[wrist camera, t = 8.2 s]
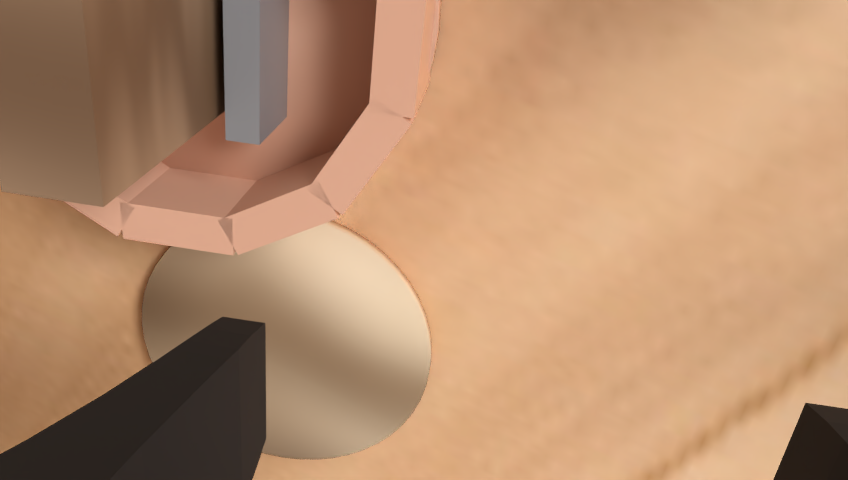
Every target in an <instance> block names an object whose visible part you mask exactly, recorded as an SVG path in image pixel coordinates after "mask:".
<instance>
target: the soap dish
mask: <svg viewBox="0 0 848 480" xmlns="http://www.w3.org/2000/svg"><path fill="white" fill-rule="evenodd" d="M440 11H441V0H223V39H224V88H225V111H224V112H223V113H222V114H221V115H219V116H218V117H217V118H216V119H214V120H213V121H212V122H211V123H209V124H208V125H207V126H205V127H204V128H203V129H202V130H200V131H199V132H198V133H197V134H195V135H194V136H193V137H192V138H190V139H189V140H188V141H186V142H185V143H184V144H183V145H181V146H180V147H179V148H178V149H176V150H175V151H174V152H173V153H171V154H170V155H169V156H168V157H166V158H165V159H164V160H162V161H161V162H160V163H159V164H157V165H156V166H155V167H154V168H152V169H151V170H150V171H149V172H147V173H146V174H145V175H144V176H142V177H141V178H140V179H138V180H137V181H136V182H135V183H133V184H132V185H131V186H130V187H128V188H127V189H126V190H125V191H123V192H122V193H121V194H119V195H118V196H117V197H116V198H114V199H113V200H112V201H111V202H109V203H108V204H107V205H106V206H104V207H99V206H93V205H86V204H79V203H73V202H66V201H64V202H65V203H67V204H68V205H70V206H71V207H73V208H74V209H76V210H77V211H79V212H81V213H82V214H84V215H85V216H87V217H88V218H90V219H91V220H93V221H94V222H96V223H98V224H99V225H101V226H102V227H104V228H105V229H107V230H108V231H110V232H111V233H113V234H114V235H116V236H119V235H120V234H121V233H123V239H128V240H135V241H141V242H148V243H154V244H161V245H167V246H174V247H181V248H187V249H194V250H200V251H207V252H213V253H220V254H226V255H234V253H235V252H237V254H238V255H240V254H242V253H245V252H248V251H251V250H253V249H256V248H259V247H261V246H264V245H267V244H270V243H272V242H275V241H278V240H281V239H283V238H286V237H289V236H291V235H294V234H297V233H300V232H302V231H305V230H308V229H310V228H313V227H316V226H319V225H321V224H324V223H327V222H329V221H332V220H335V219H338V218H339V216H340V214H342V215H343V214H344V213H345V211H346V210H347V209H348V207H349V206H350V205H351V203H352V202H353V201H354V199H355V198H356V197H357V195H358V194H359V193H360V192H361V190H362V189H363V188H364V186H365V185H366V184H367V182H368V181H369V180H370V178H371V177H372V176H373V174H374V173H375V172H376V171H377V169H378V168H379V167H380V165H381V164H382V163H383V161H384V160H385V159H386V157H387V156H388V155H389V153H390V152H391V151H392V150H393V148H394V147H395V146H396V144H397V143H398V142H399V140H400V139H401V138H402V136H403V135H404V134H405V132H406V131H407V130H408V129H409V127H410V126H411V125H412V123H413V120H414V118H415V116H416V113H417V111H418V109H419V107H420V104H421V102H422V100H423V97H424V95H425V93H426V91H427V88H428V85H429V82H430V73H431V66H432V63H433V60H434V57H435V51H436V46H437V40H438V34H439V29H440Z"/></svg>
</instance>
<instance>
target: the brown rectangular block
mask: <svg viewBox="0 0 848 480" xmlns="http://www.w3.org/2000/svg"><path fill="white" fill-rule="evenodd" d="M224 111H225V88H224V39H223V0H0V185H1V190H2V192H8V193H14V194H21V195H27V196H34V197H40V198H47V199H53V200H60V201H66V202H73V203H79V204H86V205H93V206H99V207H104V206H106V205H107V204H108V203H109V202H111V201H112V200H113V199H114V198H116V197H117V196H118V195H119V194H121V193H122V192H123V191H125V190H126V189H127V188H128V187H130V186H131V185H132V184H133V183H135V182H136V181H137V180H138V179H140V178H141V177H142V176H144V175H145V174H146V173H147V172H149V171H150V170H151V169H152V168H154V167H155V166H156V165H157V164H159V163H160V162H161V161H162V160H164V159H165V158H166V157H168V156H169V155H170V154H171V153H173V152H174V151H175V150H176V149H178V148H179V147H180V146H181V145H183V144H184V143H185V142H186V141H188V140H189V139H190V138H192V137H193V136H194V135H195V134H197V133H198V132H199V131H200V130H202V129H203V128H204V127H205V126H207V125H208V124H209V123H211V122H212V121H213V120H214V119H216V118H217V117H218V116H219V115H221V114H222V113H223V112H224Z"/></svg>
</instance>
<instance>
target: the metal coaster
mask: <svg viewBox="0 0 848 480" xmlns="http://www.w3.org/2000/svg"><path fill="white" fill-rule="evenodd" d="M221 317H229V318H236V319H242V320H249V321H256V322H263V323H265V326H266V441H265V444H264V447H263V449H262V453H265V454H270V455H274V456H279V457H285V458H293V459H327V458H335V457H340V456H345V455H350V454H353V453H356V452H359V451H362V450H365V449H367V448H369V447H371V446H373V445H375V444H377V443H379V442H381V441H382V440H384V439H385V438H387V437H388V436H390V435H391V434H393V433H394V432H395V431H396V430H397V429H398V428H399V427H401V426H402V425H403V424H404V423H405V421H406V420H407V419H408V418H409V417H410V415H411V414H412V413H413V411H414V410H415V408H416V406H417V405H418V403H419V402H420V400H421V397H422V395H423V392H424V390H425V387H426V384H427V379H428V375H429V370H430V365H431V351H432V345H431V335H430V329H429V325H428V321H427V317H426V313H425V311H424V309H423V306H422V304H421V301H420V299H419V297H418V295H417V294H416V292H415V290H414V288H413V287H412V285H411V283H410V282H409V280H408V279H407V278H406V277H405V275H404V274H403V273H402V271H401V270H400V269H399V268H398V266H397V265H396V264H395V263H394V262H393V261H392V260H391V259H390V258H389V257H388V256H387V255H386V254H385V253H384V252H382V251H381V250H380V249H379V248H377V247H376V246H375V245H374V244H372V243H371V242H370V241H368V240H367V239H365V238H364V237H362V236H360V235H359V234H357V233H356V232H354V231H352V230H351V229H349V228H347V227H345V226H342V225H340V224H338V223H336V222H334V221H329V222H327V223H324V224H321V225H319V226H316V227H313V228H310V229H308V230H305V231H302V232H300V233H297V234H294V235H291V236H289V237H286V238H283V239H281V240H278V241H275V242H272V243H270V244H267V245H264V246H261V247H259V248H256V249H253V250H251V251H248V252H245V253H242V254H240V255H238V254H237V252H235V253H234V255H226V254H220V253H213V252H207V251H200V250H194V249H187V248H181V247H174V246H171V247H170V248H169V249H168V250H167V251H166V252H165V254H164V255H163V256H162V258H161V259H160V260H159V262H158V263H157V264H156V266H155V268H154V270H153V272H152V274H151V276H150V278H149V280H148V283H147V286H146V289H145V292H144V298H143V305H142V328H143V334H144V340H145V343H146V347H147V350H148V353H149V356H150V358H151V361H152V363H153V362H154V361H156V360H157V359H159V358H160V357H162V356H163V355H165V354H166V353H168V352H169V351H171V350H172V349H174V348H175V347H177V346H178V345H180V344H181V343H183V342H184V341H186V340H187V339H189V338H190V337H192V336H193V335H195V334H196V333H198V332H199V331H201V330H202V329H204V328H205V327H207V326H208V325H210V324H211V323H213V322H214V321H216V320H218V319H219V318H221Z"/></svg>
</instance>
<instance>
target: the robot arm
mask: <svg viewBox="0 0 848 480" xmlns="http://www.w3.org/2000/svg"><path fill="white" fill-rule="evenodd" d="M265 441H266V326H265V323H263V322H256V321H249V320H242V319H236V318H229V317H221V318H219V319H218V320H216V321H214V322H213V323H211V324H210V325H208V326H207V327H205V328H204V329H202V330H201V331H199V332H198V333H196V334H195V335H193V336H192V337H190V338H189V339H187V340H186V341H184V342H183V343H181V344H180V345H178V346H177V347H175V348H174V349H172V350H171V351H169V352H168V353H166V354H165V355H163V356H162V357H160V358H159V359H157V360H156V361H154V362H153V363H151V364H150V365H148V366H147V367H145V368H144V369H142V370H141V371H139V372H138V373H136V374H134V375H133V376H131V377H130V378H128V379H127V380H125V381H124V382H122V383H121V384H119V385H118V386H116V387H115V388H113V389H111V390H110V391H108V392H107V393H105V394H104V395H102V396H100V397H99V398H97V399H95V400H94V401H92V402H90V403H89V404H87V405H85V406H83V407H82V408H80V409H78V410H77V411H75V412H73V413H72V414H70V415H68V416H67V417H65V418H63V419H61V420H60V421H58V422H56V423H55V424H53V425H51V426H50V427H48V428H46V429H44V430H43V431H41V432H39V433H38V434H36V435H34V436H33V437H31V438H29V439H28V440H26V441H24V442H22V443H20V444H18V445H17V446H15V447H13V448H11V449H9V450H7V451H5V452H4V453H2V454H0V480H252V479H253V476H254V473H255V470H256V467H257V464H258V461H259V458H260V455H261V452H262V449H263V447H264V444H265ZM774 480H848V409H844V408H837V407H830V406H823V405H817V404H810V403H805V406H804V408H803V411H802V413H801V415H800V418H799V420H798V422H797V425H796V427H795V430H794V432H793V434H792V437H791V439H790V441H789V444H788V446H787V449H786V451H785V453H784V456H783V458H782V461H781V463H780V465H779V468H778V470H777V472H776V475H775V477H774Z"/></svg>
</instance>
